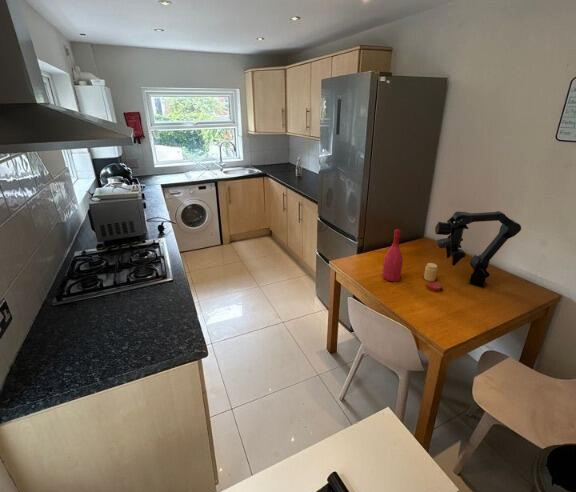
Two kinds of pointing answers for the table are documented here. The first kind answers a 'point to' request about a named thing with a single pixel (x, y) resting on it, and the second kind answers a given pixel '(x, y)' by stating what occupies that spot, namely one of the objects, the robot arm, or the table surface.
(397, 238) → the wine bottle
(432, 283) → the lid
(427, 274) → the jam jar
